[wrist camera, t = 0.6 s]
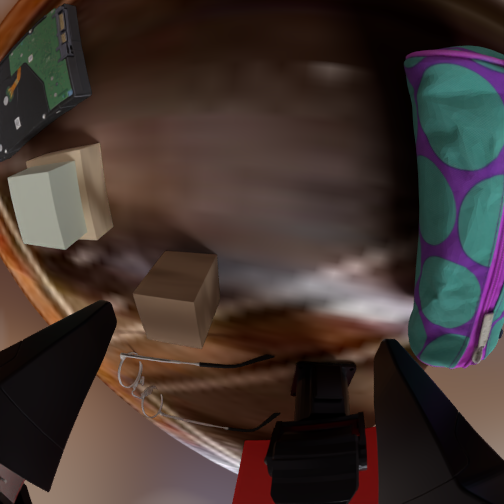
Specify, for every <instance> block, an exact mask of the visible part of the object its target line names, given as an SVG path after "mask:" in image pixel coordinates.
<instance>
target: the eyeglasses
mask: <svg viewBox="0 0 504 504" xmlns="http://www.w3.org/2000/svg"><path fill="white" fill-rule="evenodd" d="M132 353H135V352H129V353H127V354H126V353H121V354H120V356H121V357H120V358H121V362H120V365H119V368H118V379H119V382H120V384H121V385H122V386H123V387H126V388H130V387H132V386H133V385H134V386H133V389H134V390H135V387H137V385H138V384H140V383H141V382H142V385H144V376H142V379H140V377H141V374H142V364H141V362H139V363H140V367H139V373H138V376H137V378H136V380H135V381H134V383H133V384H131V385H130V386H124V385H123V384H122V382H121V379H120V370H121V366H122V363H123V361H124V360H125V358H126V357H131V358H138V359H145V360H152V361H160V362H169V363H178V364H180V363H184V364H194V365H197V366H200V367H214V368H237V367H242V366H245V365H249V364H252V363H255V362H259V361H262V360H266V359H270V358H274V357H275V356H272V355H263V356H260V357H257V358H254V359H252V360H249V361H246V362H244V363H241V364H235V365H223V364H213V363H201V362H200V363H189V362H181V361H177V360H168V359H160V358H153V357H146V356H139V355H137V353H135V354H136V355H132ZM139 380H140V383H138V382H139ZM155 387H156V386H153V385H152V386H149V387H148V388H146V389H145V390H144V392H143V393H141V397H138V396H135V395H134V394H133V391H134V390H133V391H132V395H133V396H134V397H136V398H139V399H142V411H143V413H144V415H145V416H147V415H146V414H145V412H144V408H143V402H144V398H145V396H148V395H150V394H151V393H152V391H153V388H155ZM156 389H157V388H156ZM147 394H148V395H147ZM160 395H161V406H160V409H159V410H158V412H157V414H156V415H154V416H153V417H149V418H154V417H156V416H157V415H158V414H161V415H162V416H166V417H170V418H174V419H178V420H182V421H186V422H191V423H196V424H201V425H206V426H211V427H213V426H214V425H211V424H206V423H201V422H197V421H192V420H188V419H183V418H179V417H175V416H171V415H168V414H164V413H163V412H161V409H162V405H163V396H162V394H160ZM279 414H280V413H274V414H273V415H271V416H270V417H269V418H268V419H267V420H266V421H264V422H263V423H262V424H261V425H260V426H258V427H257V428H254V429H237V428H230V427H219V426H214V427H219V428H224V429H227V430H232V431H241V432H252V431H256V430H258V429H260V428H261V427H263V426H264V425H266V424H267V423H269V422H270V421H272V420H273V419H274V418H276V417H277V416H278V415H279ZM147 417H148V416H147Z"/></svg>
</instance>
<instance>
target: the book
mask: <svg viewBox="0 0 504 504" xmlns="http://www.w3.org/2000/svg"><path fill="white" fill-rule="evenodd" d="M365 433H366V444H367V470H365V471H359V488H358V490H357V491H356V493H355V494H354V496H353V498H352V499H351V501H350V502H349V503H348V504H378V451H377V434H376V426H375V427H371V428H366V429H365ZM358 436H359V435H358ZM269 444H270V440H245V442H244V448H243V453H242V458H241V463H240V468H239V473H238V478H237V483H236V488H235V493H234V498H233V502H232V504H275V503H274V501H273V499H272V497H271V495H270V491H271V484H272V477H270V476H269V473H268V469H267V465H266V464H265V463H264V458H265V456H266V454H267V450H268V447H269Z"/></svg>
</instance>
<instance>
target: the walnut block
mask: <svg viewBox="0 0 504 504" xmlns="http://www.w3.org/2000/svg"><path fill="white" fill-rule="evenodd" d="M133 296H134V300H135V303H136V306H137V309H138V312H139V315H140V319H141V322H142V325H143V328H144V330H145V333H146V336H147V339H150V340H155V341H160V342H165V343H170V344H176V345H181V346H187V347H193V348H199V349H202V347H203V345H204V342H205V339H206V336H207V334H208V331H209V328H210V325H211V323H212V320H213V317H214V315H215V312H216V309H217V306H218V304H219V301H220V288H219V276H218V262H217V255H215V254H202V253H189V252H176V251H165V252H164V253H163V255H162V256H161V257H160V258H159V260H158V261H157V262H156V263H155V265H154V266H153V267H152V269H151V270H150V271H149V273H148V274H147V275H146V276H145V278H144V279H143V280H142V282H141V283H140V284H139V286H138V287H137V288H136V290H135V291H134V292H133Z"/></svg>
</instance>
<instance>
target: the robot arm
mask: <svg viewBox="0 0 504 504" xmlns="http://www.w3.org/2000/svg"><path fill="white" fill-rule="evenodd" d="M116 325H117V319H116V316H115V313H114V310H113V307H112V304H111V303H110V302H108V301H104V300H99V301H97V302H95V303H93V304H91V305H89V306H87V307H85V308H83V309H81V310H79V311H77V312H75V313H73V314H71V315H69V316H67V317H65V318H64V319H62V320H60V321H58V322H56V323H54V324H52V325H50V326H48V327H46V328H44V329H42V330H41V331H39V332H37V333H35V334H33V335H31V336H29V337H27V338H25V339H24V340H23V341H20V342H18V343H16V344H14V345H12V346H10V347H8V348H6V349H4V350H2V351H0V504H32V502H31V499H30V496H29V492H28V489H27V486H26V485H25V484H24V481H25V480H27V481H29V482H30V483H32V484H34V485H36V486H37V487H39V488H41V489H43V490H45V491H47V492H49V491H50V489H51V486H52V482H53V479H54V476H55V474H56V471H57V468H58V465H59V462H60V459H61V456H62V454H63V450H64V448H65V446H66V443H67V440H68V438H69V435H70V433H71V430H72V428H73V425H74V423H75V420H76V418H77V416H78V413H79V411H80V409H81V407H82V404H83V402H84V399H85V398H86V395H87V393H88V391H89V389H90V387H91V384H92V382H93V380H94V378H95V376H96V374H97V372H98V370H99V368H100V366H101V363H102V361H103V359H104V356H105V354H106V351H107V348H108V346H109V343H110V341H111V338H112V335H113V333H114V330H115V328H116ZM355 371H356V365H355V364H333V363H309V362H299V363H297V364H296V368H295V373H294V378H293V383H292V388H291V396H296V403H295V418H294V421H289V422H282V421H277V422H276V425H275V428H274V429H273V433H272V437H271V440H270V444H269V447H268V450H267V454H266V456H265V458H264V463H265V464H266V465H267V469H268V473H269V476H270V477H272V484H271V491H270V495H271V497H272V499H273V501H274V503H275V504H348V503H349V502H350V501H351V499H352V498H353V496H354V494H355V493H356V491H357V490H358V488H359V471H365V470H367V444H366V433H365V423H364V414H363V412H359V413H358V414H352V415H350V409H349V395H348V386H349V384H350V382H351V380H352V378H353V376H354V373H355ZM374 410H375V422H376V434H377V451H378V504H504V460H503V459H502V458H501V457H500V456H499V455H498V454H497V453H496V452H495V451H494V450H493V449H492V448H491V447H490V446H489V445H488V444H487V443H486V442H485V441H484V439H482V437H481V436H480V435H479V434H478V433H477V432H476V431H475V430H474V429H473V428H472V426H471V425H470V424H469V423H468V422H467V421H466V419H465V418H464V417H463V416H462V415H461V413H460V412H458V410H457V409H456V407H455V406H454V405H453V404H452V403H451V402H450V400H449V399H448V398H447V397H446V396H445V394H444V393H443V392H442V391H441V390H440V389H439V387H438V386H437V385H436V384H435V383H434V382H433V380H432V379H431V378H430V377H429V376H428V375H427V374H426V372H425V371H424V370H423V369H422V368H421V367H420V366H419V364H418V363H417V362H416V361H415V360H414V359H413V358H412V357H411V356H410V354H409V353H408V352H407V351H406V350H405V349H404V348H403V347H402V346H401V345H400V343H399V342H398V341H397V340H395V339H384V340H383V341H382V342H381V344H380V346H379V348H378V351H377V353H376V355H375V357H374ZM358 435H359V436H358Z"/></svg>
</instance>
